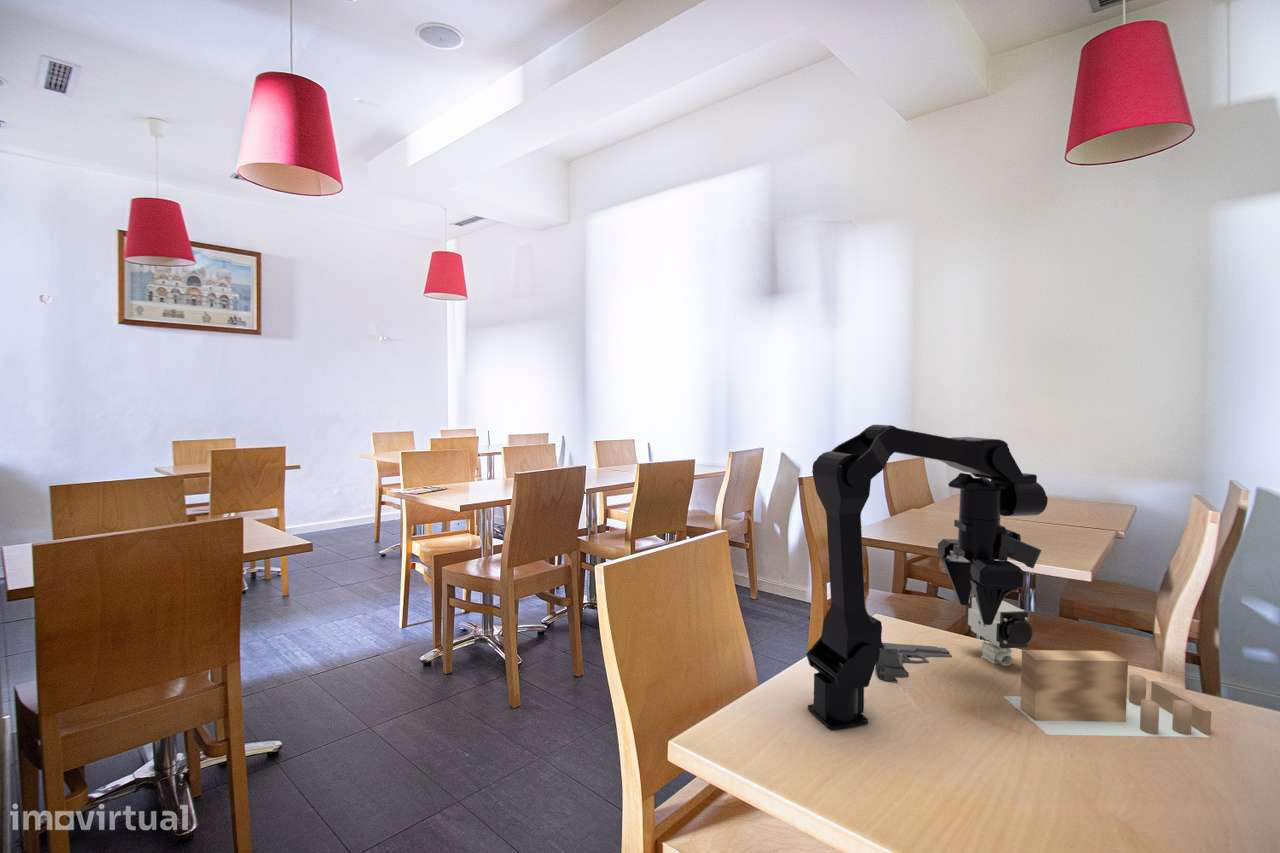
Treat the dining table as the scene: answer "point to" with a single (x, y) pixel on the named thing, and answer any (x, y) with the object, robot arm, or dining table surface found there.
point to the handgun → (894, 659)
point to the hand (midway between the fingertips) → (975, 614)
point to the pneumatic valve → (1000, 631)
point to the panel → (1139, 715)
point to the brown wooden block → (1074, 685)
